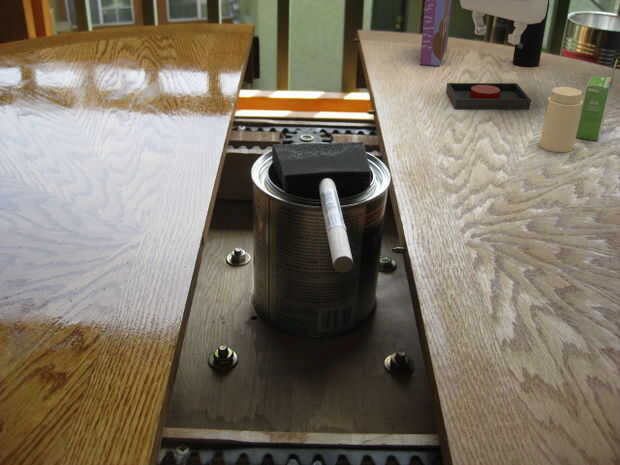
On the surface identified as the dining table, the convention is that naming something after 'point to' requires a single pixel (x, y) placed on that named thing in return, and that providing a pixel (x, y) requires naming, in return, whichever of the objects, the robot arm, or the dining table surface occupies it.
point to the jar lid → (484, 92)
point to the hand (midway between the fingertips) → (496, 39)
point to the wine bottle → (530, 44)
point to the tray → (508, 99)
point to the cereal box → (435, 31)
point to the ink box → (594, 107)
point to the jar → (561, 119)
